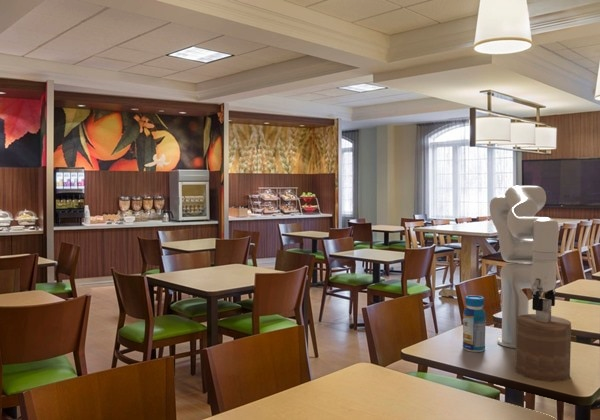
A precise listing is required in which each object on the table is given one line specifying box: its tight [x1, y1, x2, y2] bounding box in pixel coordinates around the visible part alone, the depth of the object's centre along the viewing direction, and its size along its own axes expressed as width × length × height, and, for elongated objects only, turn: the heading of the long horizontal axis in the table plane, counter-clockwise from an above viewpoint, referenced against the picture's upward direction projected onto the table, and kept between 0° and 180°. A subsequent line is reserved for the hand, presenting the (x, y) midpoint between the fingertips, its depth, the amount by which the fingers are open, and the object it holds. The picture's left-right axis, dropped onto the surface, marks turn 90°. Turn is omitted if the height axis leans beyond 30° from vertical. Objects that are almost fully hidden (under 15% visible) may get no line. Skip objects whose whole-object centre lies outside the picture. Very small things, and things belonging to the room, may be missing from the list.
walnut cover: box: [515, 297, 572, 382], centre depth 182 cm, size 17×17×24 cm
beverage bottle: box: [462, 294, 487, 353], centre depth 206 cm, size 8×8×20 cm
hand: (543, 307), depth 181 cm, fingers open, 9 cm apart
